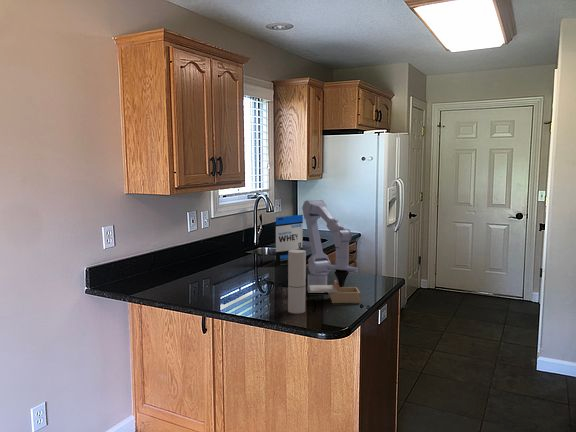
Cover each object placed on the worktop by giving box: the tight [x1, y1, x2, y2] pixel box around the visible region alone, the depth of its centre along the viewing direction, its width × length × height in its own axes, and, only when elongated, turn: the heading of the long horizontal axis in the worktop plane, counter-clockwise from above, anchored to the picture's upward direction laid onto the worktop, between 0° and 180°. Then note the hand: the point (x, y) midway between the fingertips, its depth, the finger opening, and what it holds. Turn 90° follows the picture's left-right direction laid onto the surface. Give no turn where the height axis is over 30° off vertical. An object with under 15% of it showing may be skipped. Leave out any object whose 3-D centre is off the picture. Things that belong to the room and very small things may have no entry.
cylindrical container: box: [287, 249, 307, 314], centre depth 197 cm, size 7×7×25 cm
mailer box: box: [329, 286, 361, 304], centre depth 213 cm, size 12×10×5 cm
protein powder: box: [275, 214, 304, 268], centre depth 294 cm, size 10×24×30 cm, turn 137°
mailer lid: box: [309, 279, 339, 293], centre depth 213 cm, size 12×10×3 cm
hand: (341, 286), depth 213 cm, fingers closed
